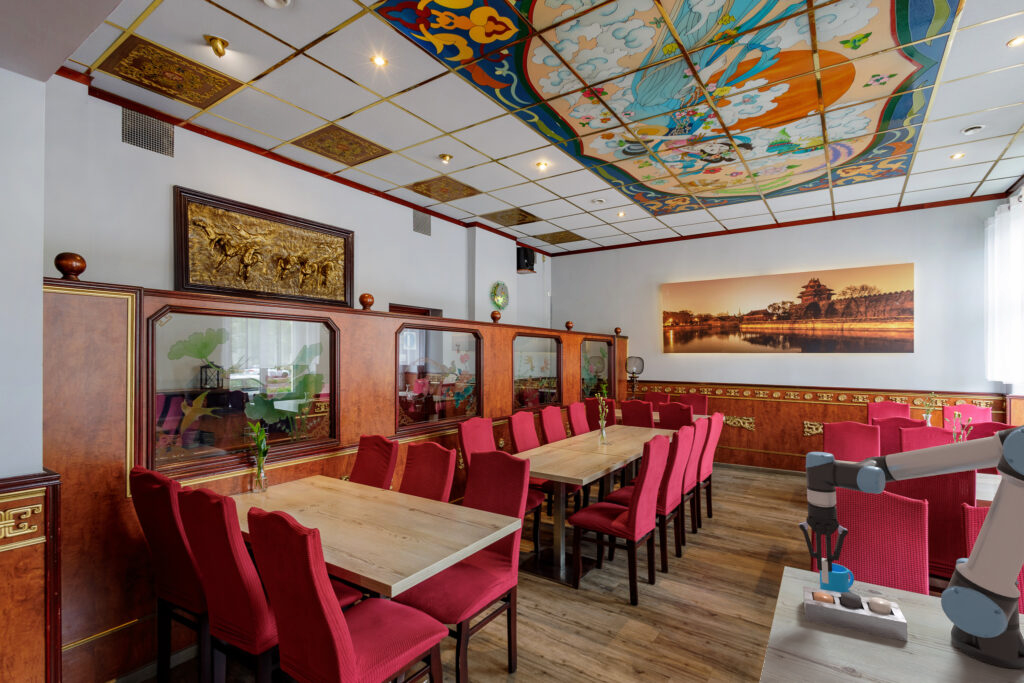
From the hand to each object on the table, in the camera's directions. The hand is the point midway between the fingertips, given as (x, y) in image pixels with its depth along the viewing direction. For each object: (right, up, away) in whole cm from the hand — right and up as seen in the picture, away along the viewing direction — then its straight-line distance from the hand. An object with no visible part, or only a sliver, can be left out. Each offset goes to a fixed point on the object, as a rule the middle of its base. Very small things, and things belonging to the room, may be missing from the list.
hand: (825, 581), depth 147 cm
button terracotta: (0, -9, 0) cm, 9 cm away
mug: (+14, -11, +14) cm, 22 cm away
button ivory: (+12, -7, -6) cm, 15 cm away
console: (+6, -10, -3) cm, 12 cm away
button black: (+6, -7, -3) cm, 10 cm away
